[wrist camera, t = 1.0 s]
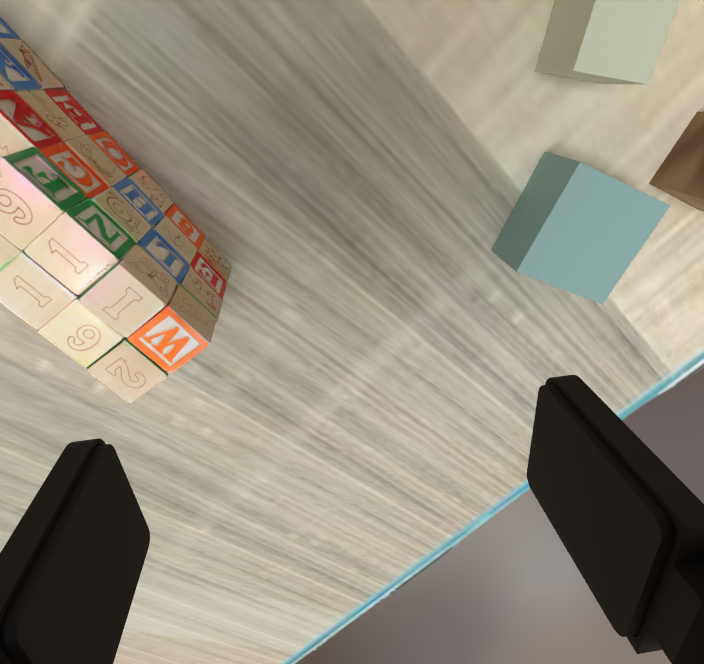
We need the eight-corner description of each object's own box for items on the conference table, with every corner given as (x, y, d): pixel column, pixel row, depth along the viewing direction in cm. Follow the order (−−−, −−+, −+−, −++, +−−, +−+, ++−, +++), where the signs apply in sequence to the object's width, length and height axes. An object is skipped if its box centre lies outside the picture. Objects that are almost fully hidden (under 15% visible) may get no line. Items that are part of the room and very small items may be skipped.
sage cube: (559, -18, 29) (606, -35, 25) (629, -3, 30) (686, -17, 26) (534, 71, 32) (573, 70, 27) (599, 83, 33) (647, 84, 28)
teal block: (543, 151, 34) (580, 162, 30) (625, 190, 37) (670, 205, 32) (490, 249, 38) (516, 271, 33) (568, 279, 40) (602, 304, 36)
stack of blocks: (-95, 60, 27) (-341, 48, 17) (-26, -14, 26) (-245, -78, 16) (175, 313, 37) (129, 408, 26) (235, 267, 36) (211, 348, 25)
